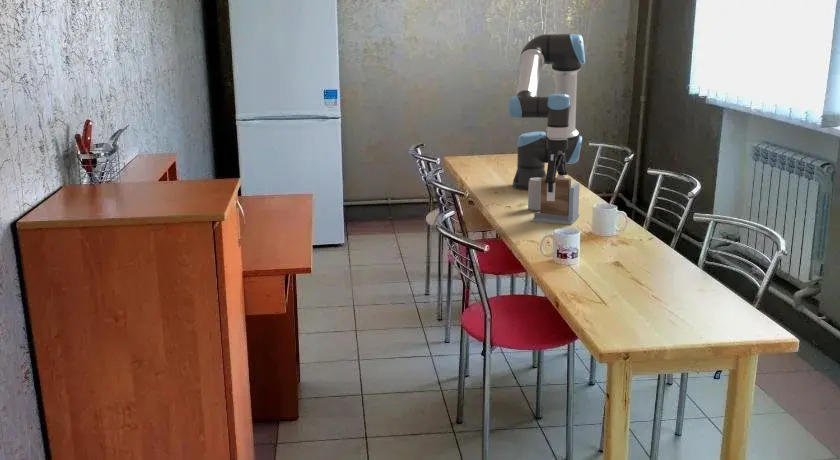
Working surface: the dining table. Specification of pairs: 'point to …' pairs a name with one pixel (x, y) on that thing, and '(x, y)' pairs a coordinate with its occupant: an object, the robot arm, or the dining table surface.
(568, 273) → the dining table surface
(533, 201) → the beverage can
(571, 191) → the door track
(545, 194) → the door panel
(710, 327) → the dining table surface
